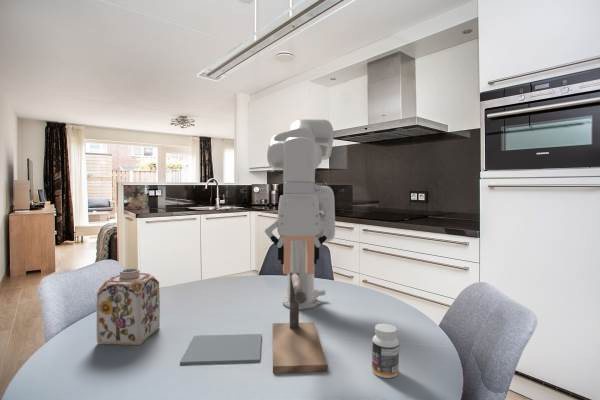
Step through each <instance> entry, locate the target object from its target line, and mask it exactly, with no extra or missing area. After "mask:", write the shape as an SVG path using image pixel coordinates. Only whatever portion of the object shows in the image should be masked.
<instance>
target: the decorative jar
mask: <svg viewBox="0 0 600 400" xmlns="http://www.w3.org/2000/svg"><path fill="white" fill-rule="evenodd" d="M160 302H161V301H160V281H159V280H158V279H157V278H156V277H155V276H153V275H152V274H150V273H147V272H141V271H140V269H139V268H135V267H134V268H124V269H121V270H120V271H119V274H118V275H114V276H111V277H109V278H107V279H106V280H104V282H103V284H102V285H101V287H99V289H98V291H97V293H96V343H97V344H98V345H116V346H120V345H121V346H122V345H123V346H140V345H142V344H143V343H144V342H145V341H146V340H147V339H148V338H150V337H151V336H152V335H153V334H154V333H155V332H156V331H157V330H158V329H160V327H161V325H160V324H161V323H160V322H161V320H160V318H161V309H160V308H161V304H160Z"/></svg>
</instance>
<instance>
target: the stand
mask: <svg viewBox="0 0 600 400" xmlns="http://www.w3.org/2000/svg"><path fill="white" fill-rule="evenodd" d="M305 301H306V295H305V293H304V292H303V289H302V286H301V283H300V280H299V271H290V308H289V322H273V323H272V374H285V373H286V374H287V373H288V374H289V373H311V372H312V373H315V372H328V362H327V359H326V356H325V353H324V350H323V346H322V344H321V341H320V337H319V335H318V331H317V328H316V325H315V322H313V321H312V322H307V321H306V322H300V317H299V316H300V315H299V314H300V313H299V312H300V309H299V304H302V303H304V302H305Z"/></svg>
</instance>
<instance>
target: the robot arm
mask: <svg viewBox="0 0 600 400" xmlns="http://www.w3.org/2000/svg"><path fill="white" fill-rule="evenodd" d="M333 142H334V127H333V126H332V123H331V122H330V120H328V119H312V118H311V119H308V118H307V119H302V118H301V119H299V120H295V121H294V122H292V123H291V125H290V127H289V130H287V131H283V132H279V133H277V134H275V135H273V136H272V138H271V139H270V141H269V143H268V147H267V151H266V152H267V154H266V159H267V163H268V165H269V167H270V168H271V169H273V170H276V171H283V173H282V174H283V177H282V178H283V187H282V188H283V194H282V195H281V194H280V196H279V198H278V199H279V200H278V207H277V209H278V210H277V220H275V221H274V222H273V223H271V225H269V226H268V227H266V228H265V230H264V233H265V235H267V237H268V238H269V239H270V241H271V242H272V243H273V244H274V245H275V246H276V247H277V260H278V261H280V265H283V264H284V246H283V243H284V235H287V236H312V235H315V240H314V265H317V262H318V261H319V259H320V247H321V246H322V245H323V244H324V243H325V242H327V243H328V242H331V241H333V240H334V238H335V235H336V214H335V213H336V211H335V210H336V208H335V204H336V203H335V195H334V191H333V188H331V187H330V186H328V185H320V184H316V180H315V179H316V178H315V177H316V169H317V168H319V167H320V165H321V164H322V161H325V160H328V159H330V157H331V155H332V149H333ZM276 229H277V233H278V235H279V238H278V237H276V235H275V234H274V233H273V231H275V230H276ZM305 266H306V241H291V263H290V271H299V280H300V283H301V286H302V289H303V292H304V293H305V295H306V301H305V302H304V303H302V304H299V310H307V309H313V308H315V307H318V305H319V299H318V298H319V297H322V296H325V295H326V291H325V289H321V290H319V289H315V273H314V274H307V273H306V270H305ZM286 275H287V276H286V278H287V280H286V281H287V282H286V283H287V284H286V297H284V298H283V299H282V305H283V306H284V307H286V308H288V309H290V274H286Z"/></svg>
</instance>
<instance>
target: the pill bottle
mask: <svg viewBox="0 0 600 400" xmlns="http://www.w3.org/2000/svg"><path fill="white" fill-rule="evenodd" d="M374 333H375V335H373V336H372V339H371V340H372V341H371V342H372V346H371V347H372V349H371V370H372V373H374V375H376V376H378V377H379V378H384V379H392V378H395V377H396V376H397V375H398V374H399V367H400V366H399V362H400V361H399V360H400V359H399V357H400V355H399V354H400V341H399V339H398V337H397V336H398V328H397V327H396V326H395V325H393V324H389V323H378V324H375V326H374Z"/></svg>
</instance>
